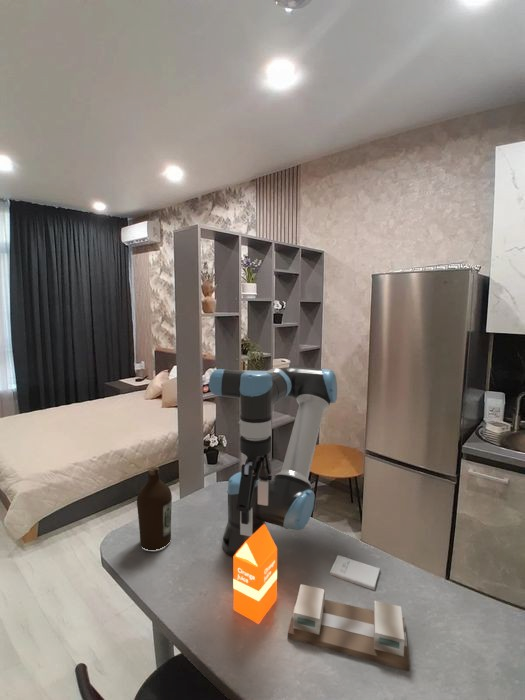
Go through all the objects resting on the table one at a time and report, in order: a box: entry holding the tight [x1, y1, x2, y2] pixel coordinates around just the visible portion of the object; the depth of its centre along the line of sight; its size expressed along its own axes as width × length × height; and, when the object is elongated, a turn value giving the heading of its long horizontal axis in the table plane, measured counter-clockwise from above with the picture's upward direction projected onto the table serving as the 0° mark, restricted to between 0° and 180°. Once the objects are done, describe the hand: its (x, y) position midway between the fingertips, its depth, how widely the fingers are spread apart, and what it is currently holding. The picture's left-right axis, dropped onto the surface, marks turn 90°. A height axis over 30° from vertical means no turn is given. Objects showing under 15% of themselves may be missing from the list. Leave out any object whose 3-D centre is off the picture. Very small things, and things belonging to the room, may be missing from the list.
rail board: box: [287, 584, 410, 671], centre depth 85 cm, size 26×12×6 cm, turn 74°
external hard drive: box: [329, 554, 381, 591], centre depth 104 cm, size 2×8×12 cm
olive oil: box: [136, 466, 173, 550], centre depth 115 cm, size 11×11×25 cm
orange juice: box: [232, 524, 278, 625], centre depth 92 cm, size 8×9×20 cm
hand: (255, 518), depth 90 cm, fingers open, 13 cm apart
